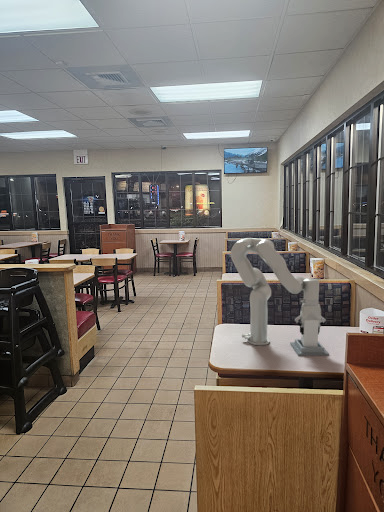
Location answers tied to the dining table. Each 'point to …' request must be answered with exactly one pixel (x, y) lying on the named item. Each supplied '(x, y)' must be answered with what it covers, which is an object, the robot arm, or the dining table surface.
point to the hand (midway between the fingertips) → (309, 333)
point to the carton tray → (308, 349)
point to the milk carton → (310, 333)
